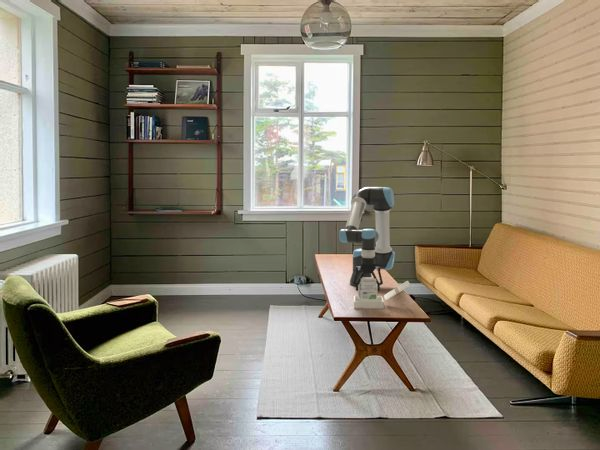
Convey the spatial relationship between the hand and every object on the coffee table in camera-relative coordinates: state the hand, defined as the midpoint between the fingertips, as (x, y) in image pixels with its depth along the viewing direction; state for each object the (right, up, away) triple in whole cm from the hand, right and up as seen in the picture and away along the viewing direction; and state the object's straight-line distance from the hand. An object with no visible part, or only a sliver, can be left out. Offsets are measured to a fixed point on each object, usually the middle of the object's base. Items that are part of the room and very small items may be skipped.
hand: (367, 296), depth 348 cm
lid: (+16, +4, -1) cm, 16 cm away
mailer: (+1, -5, +1) cm, 5 cm away
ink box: (0, -1, 0) cm, 1 cm away
